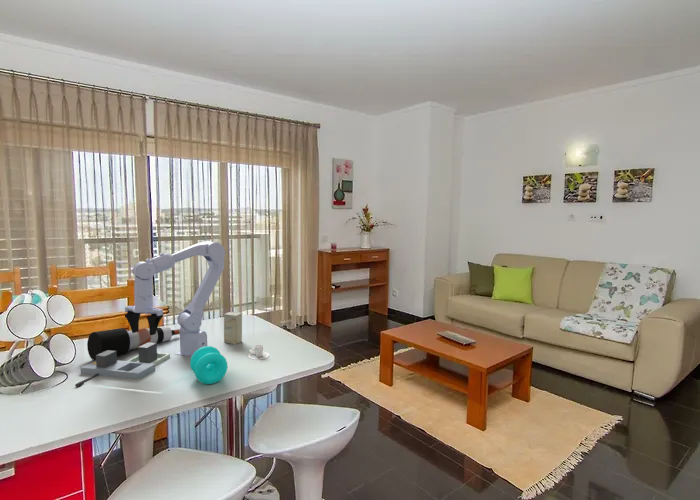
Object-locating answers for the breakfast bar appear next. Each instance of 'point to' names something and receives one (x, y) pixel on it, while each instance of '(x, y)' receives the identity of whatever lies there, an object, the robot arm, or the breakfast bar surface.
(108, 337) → the black white cylindrical piece
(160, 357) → the tray
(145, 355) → the plug
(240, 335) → the skincare box
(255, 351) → the teacup and saucer
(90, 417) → the breakfast bar surface
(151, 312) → the robot arm
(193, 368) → the teal spool
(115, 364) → the power strip
